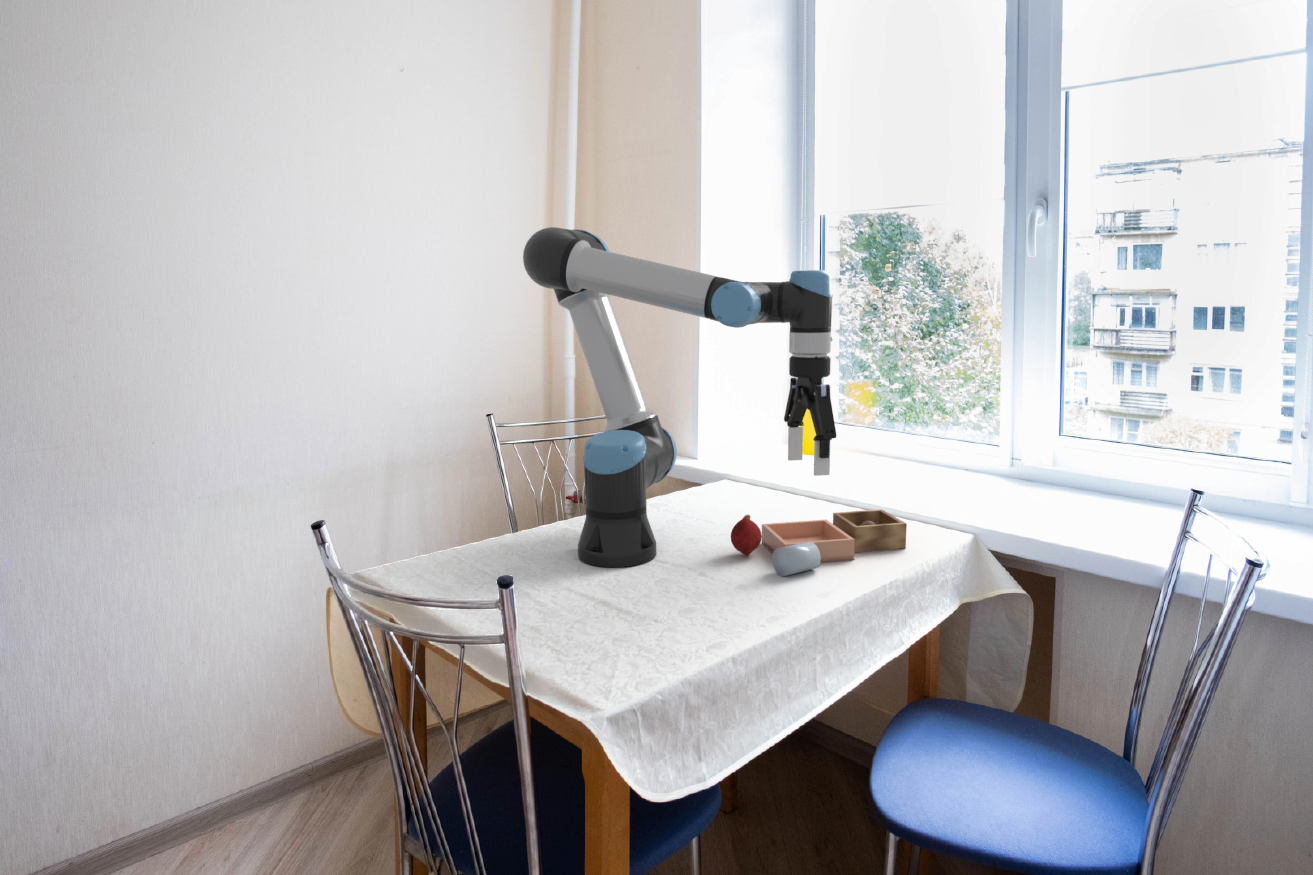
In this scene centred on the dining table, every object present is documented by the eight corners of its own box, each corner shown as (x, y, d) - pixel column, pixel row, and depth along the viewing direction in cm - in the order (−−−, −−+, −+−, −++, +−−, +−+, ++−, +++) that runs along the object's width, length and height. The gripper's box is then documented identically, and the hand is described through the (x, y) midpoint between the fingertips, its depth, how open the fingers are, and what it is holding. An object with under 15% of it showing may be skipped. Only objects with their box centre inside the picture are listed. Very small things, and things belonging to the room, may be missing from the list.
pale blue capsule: (790, 579, 143) (790, 552, 142) (771, 571, 147) (772, 544, 147) (820, 572, 147) (820, 545, 146) (801, 564, 151) (802, 538, 150)
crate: (854, 552, 157) (855, 527, 156) (832, 536, 167) (833, 512, 167) (905, 548, 159) (906, 523, 158) (880, 532, 169) (881, 509, 168)
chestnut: (863, 541, 161) (864, 524, 160) (856, 536, 165) (856, 519, 164) (880, 540, 162) (881, 522, 161) (872, 535, 165) (873, 517, 165)
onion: (743, 562, 153) (744, 520, 151) (724, 554, 157) (724, 514, 156) (767, 556, 156) (767, 515, 154) (747, 548, 161) (748, 509, 159)
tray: (784, 565, 150) (785, 544, 150) (761, 543, 164) (761, 524, 163) (854, 559, 153) (854, 539, 152) (825, 538, 166) (826, 519, 165)
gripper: (857, 360, 140) (854, 480, 144) (804, 349, 164) (802, 453, 168) (816, 361, 139) (813, 483, 143) (768, 350, 163) (767, 455, 167)
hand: (807, 467), depth 155 cm, fingers open, 13 cm apart
